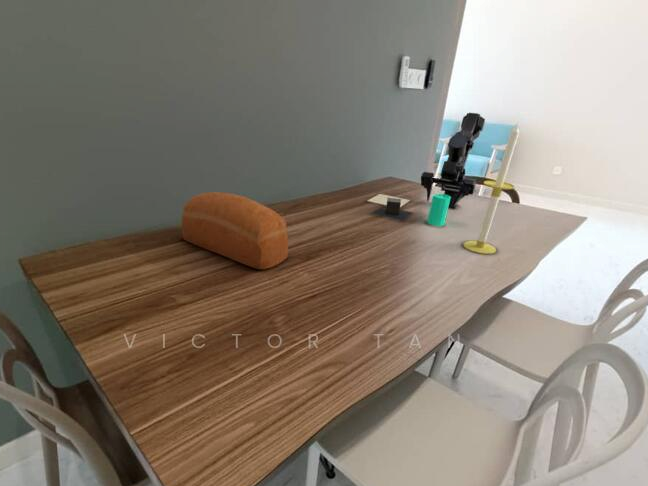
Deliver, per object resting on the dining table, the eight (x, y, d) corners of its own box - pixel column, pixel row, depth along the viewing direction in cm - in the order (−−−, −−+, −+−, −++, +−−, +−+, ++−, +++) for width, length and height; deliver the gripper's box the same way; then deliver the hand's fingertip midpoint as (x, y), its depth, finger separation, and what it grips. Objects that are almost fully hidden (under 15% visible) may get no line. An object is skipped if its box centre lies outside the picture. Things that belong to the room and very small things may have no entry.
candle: (444, 223, 146) (452, 190, 140) (443, 228, 141) (451, 194, 135) (427, 220, 147) (434, 188, 141) (426, 225, 142) (433, 192, 136)
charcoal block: (385, 210, 154) (387, 197, 151) (398, 211, 153) (400, 198, 150) (385, 214, 149) (387, 201, 147) (398, 215, 149) (400, 202, 146)
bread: (260, 273, 102) (260, 216, 94) (178, 240, 118) (172, 188, 110) (292, 257, 112) (295, 204, 104) (212, 228, 128) (209, 180, 120)
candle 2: (472, 239, 133) (507, 118, 114) (501, 249, 127) (544, 123, 108) (457, 246, 127) (492, 119, 108) (487, 256, 121) (530, 124, 102)
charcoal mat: (382, 207, 158) (383, 205, 158) (411, 213, 153) (411, 212, 153) (371, 214, 150) (371, 213, 149) (401, 221, 144) (401, 220, 144)
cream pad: (379, 194, 174) (379, 193, 174) (410, 201, 168) (410, 200, 168) (366, 201, 163) (367, 200, 163) (398, 209, 157) (399, 207, 157)
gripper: (427, 148, 139) (413, 185, 136) (483, 155, 132) (469, 195, 129) (427, 167, 149) (414, 202, 146) (479, 175, 142) (466, 212, 139)
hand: (440, 203), depth 140 cm, fingers open, 9 cm apart
